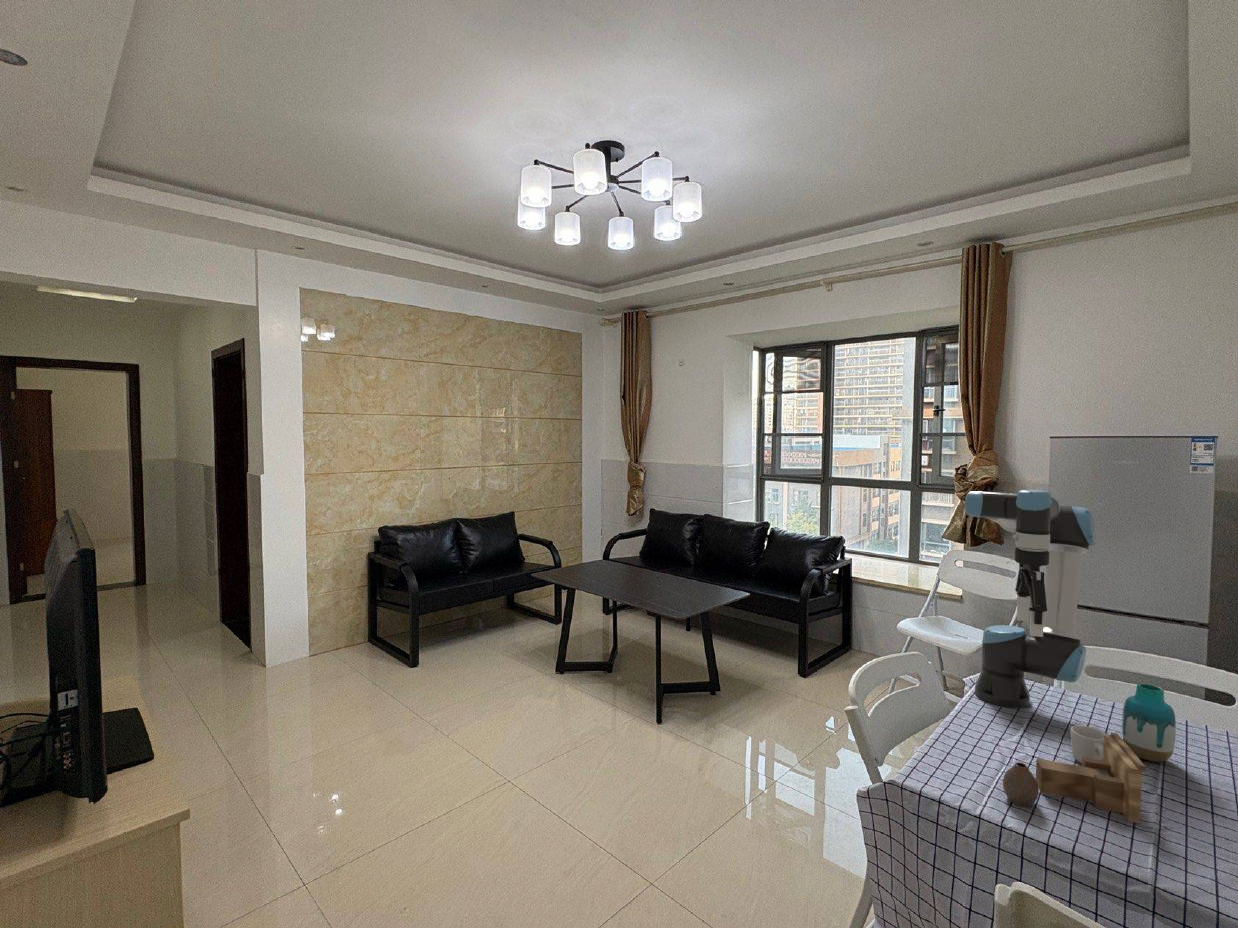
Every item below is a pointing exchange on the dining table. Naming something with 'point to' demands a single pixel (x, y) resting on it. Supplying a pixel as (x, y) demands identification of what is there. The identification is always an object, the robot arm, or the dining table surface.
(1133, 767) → the headboard
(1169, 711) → the vase
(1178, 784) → the dining table surface
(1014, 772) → the vase
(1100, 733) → the cup
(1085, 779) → the brown wooden block
